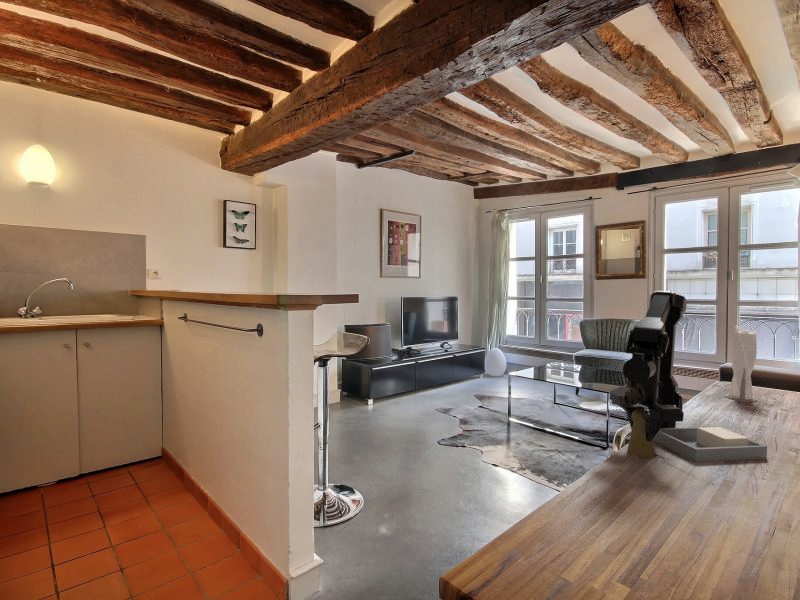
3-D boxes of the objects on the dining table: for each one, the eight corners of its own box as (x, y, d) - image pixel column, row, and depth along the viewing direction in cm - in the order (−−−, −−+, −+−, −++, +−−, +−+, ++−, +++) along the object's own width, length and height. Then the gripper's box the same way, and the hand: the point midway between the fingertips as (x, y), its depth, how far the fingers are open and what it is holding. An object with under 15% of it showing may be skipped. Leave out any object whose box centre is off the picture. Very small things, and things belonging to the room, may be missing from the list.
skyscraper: (720, 396, 168) (726, 325, 166) (737, 395, 170) (742, 325, 168) (742, 402, 159) (748, 327, 158) (759, 401, 161) (765, 327, 160)
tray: (650, 443, 115) (651, 428, 115) (714, 440, 118) (715, 426, 118) (695, 466, 101) (696, 449, 101) (766, 462, 104) (767, 446, 104)
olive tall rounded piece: (653, 451, 109) (655, 409, 108) (656, 460, 104) (659, 415, 103) (626, 447, 112) (629, 405, 111) (627, 455, 106) (630, 411, 105)
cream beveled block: (696, 442, 114) (697, 427, 113) (718, 441, 115) (719, 426, 115) (723, 454, 106) (724, 439, 106) (747, 453, 107) (748, 438, 107)
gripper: (593, 368, 114) (589, 425, 115) (644, 386, 96) (640, 454, 97) (630, 368, 116) (626, 424, 117) (687, 385, 98) (683, 452, 99)
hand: (641, 437), depth 107 cm, fingers closed on olive tall rounded piece, 4 cm apart
